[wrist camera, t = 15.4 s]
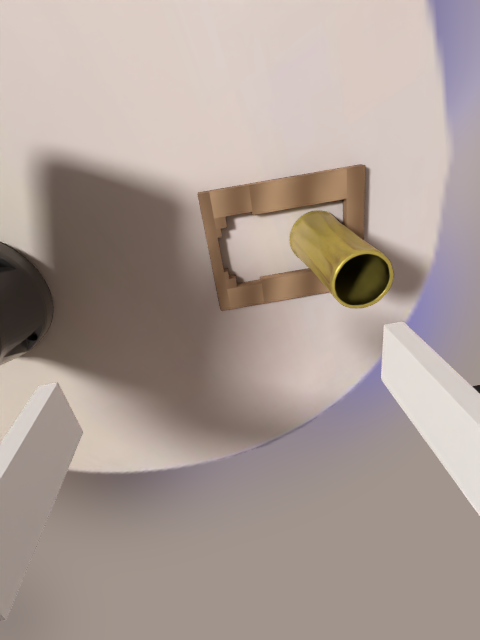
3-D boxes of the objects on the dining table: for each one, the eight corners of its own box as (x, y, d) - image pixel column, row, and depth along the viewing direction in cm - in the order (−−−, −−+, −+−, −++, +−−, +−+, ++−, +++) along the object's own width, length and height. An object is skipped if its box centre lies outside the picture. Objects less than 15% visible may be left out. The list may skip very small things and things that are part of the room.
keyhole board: (220, 306, 44) (220, 311, 43) (197, 192, 38) (197, 194, 37) (359, 282, 45) (362, 286, 44) (360, 164, 38) (365, 165, 37)
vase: (344, 250, 42) (403, 299, 30) (296, 268, 43) (334, 323, 30) (334, 202, 40) (394, 233, 27) (283, 221, 40) (318, 260, 28)
